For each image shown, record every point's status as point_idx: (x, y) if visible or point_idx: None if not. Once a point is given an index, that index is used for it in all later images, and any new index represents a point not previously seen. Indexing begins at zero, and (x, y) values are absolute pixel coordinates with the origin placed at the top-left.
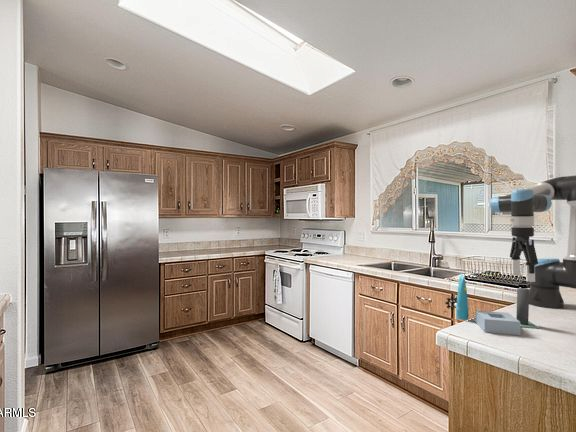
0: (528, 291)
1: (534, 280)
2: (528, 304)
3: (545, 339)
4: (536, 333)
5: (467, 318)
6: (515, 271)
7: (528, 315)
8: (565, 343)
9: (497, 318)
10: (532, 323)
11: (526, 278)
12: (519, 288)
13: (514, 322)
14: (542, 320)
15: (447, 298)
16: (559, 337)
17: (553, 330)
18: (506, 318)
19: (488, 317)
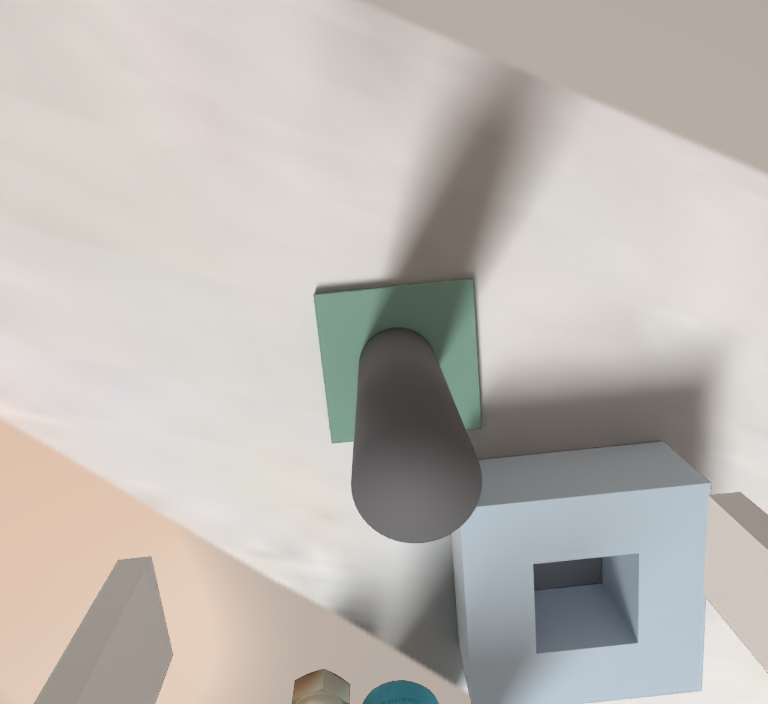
0: (460, 432)
1: (752, 511)
2: (436, 378)
3: (711, 311)
4: (595, 328)
5: (427, 694)
6: (146, 670)
7: (417, 346)
8: (764, 210)
9: (661, 612)
10: (373, 290)
11: (735, 623)
12: (371, 510)
13: (706, 515)
14: (210, 168)
15: None
16: (644, 201)
17: (482, 181)
18: (644, 554)
19: (649, 661)
